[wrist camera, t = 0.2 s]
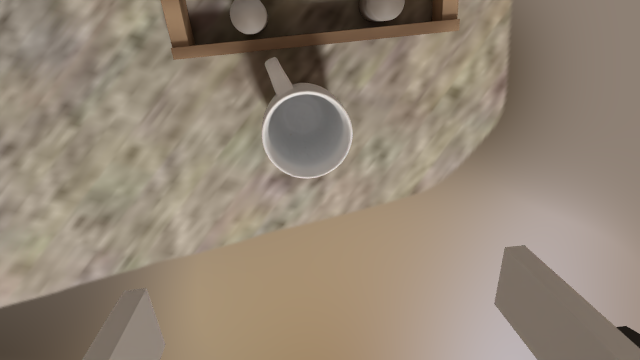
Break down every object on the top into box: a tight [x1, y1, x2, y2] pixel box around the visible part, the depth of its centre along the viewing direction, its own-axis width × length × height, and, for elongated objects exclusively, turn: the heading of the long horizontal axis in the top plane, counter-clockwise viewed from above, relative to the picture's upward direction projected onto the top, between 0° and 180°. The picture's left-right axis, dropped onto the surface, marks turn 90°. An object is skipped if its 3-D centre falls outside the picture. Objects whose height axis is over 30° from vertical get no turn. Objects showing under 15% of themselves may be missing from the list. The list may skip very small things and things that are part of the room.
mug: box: [262, 57, 352, 178], centre depth 33 cm, size 11×8×9 cm
